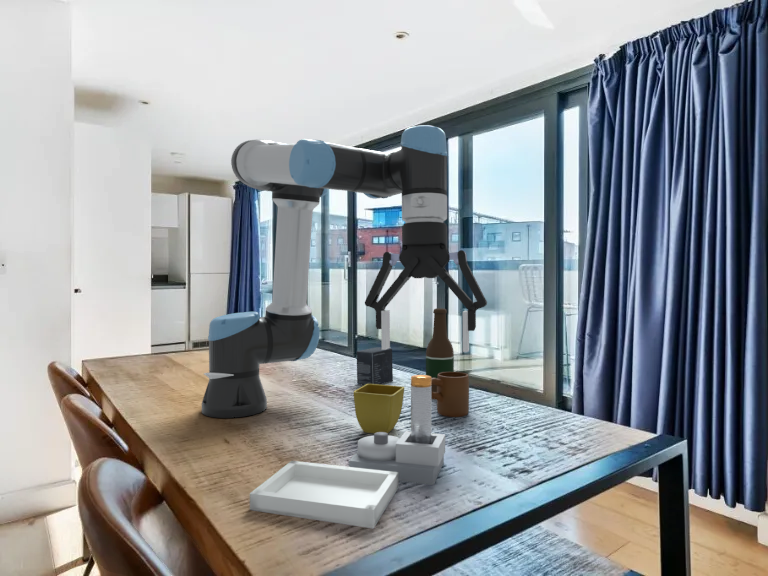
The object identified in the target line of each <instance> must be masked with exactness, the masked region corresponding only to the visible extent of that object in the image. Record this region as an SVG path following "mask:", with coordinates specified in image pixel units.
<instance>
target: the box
mask: <svg viewBox="0 0 768 576" xmlns="http://www.w3.org/2000/svg"><path fill="white" fill-rule="evenodd" d="M393 375H394V373H393V349H392V348H391V347H390V348H388V349H386V350H382V347H377V346H376V347H371V348H366V349H361V350H356V382H357V383H358V384H357V383H356V384H357V385H361V384H363V385H362V386H364V385H366V384H379V385H385V384H387V383H390V382H393V381H394V378H393V377H394V376H393Z"/></svg>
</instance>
